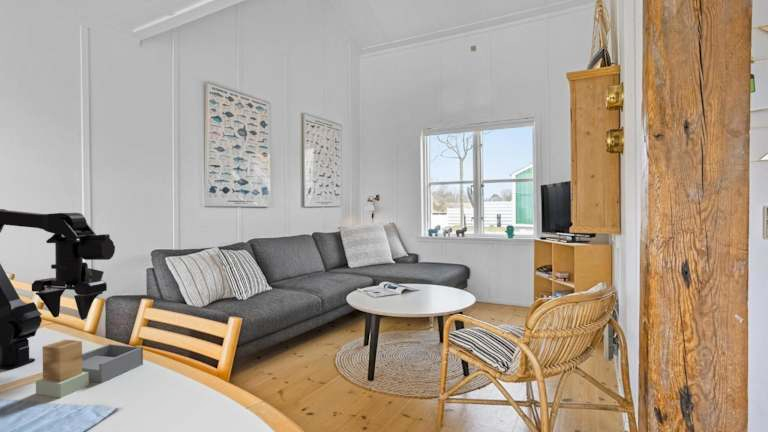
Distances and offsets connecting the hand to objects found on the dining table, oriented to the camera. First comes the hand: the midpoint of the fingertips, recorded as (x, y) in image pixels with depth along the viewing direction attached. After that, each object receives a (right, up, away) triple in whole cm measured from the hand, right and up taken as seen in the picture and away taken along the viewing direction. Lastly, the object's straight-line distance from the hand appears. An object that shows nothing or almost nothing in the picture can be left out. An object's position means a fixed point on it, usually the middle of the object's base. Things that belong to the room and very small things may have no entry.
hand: (69, 318), depth 108 cm
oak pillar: (+11, -9, -16) cm, 21 cm away
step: (+11, -12, -16) cm, 23 cm away
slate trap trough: (+13, -12, -5) cm, 19 cm away
